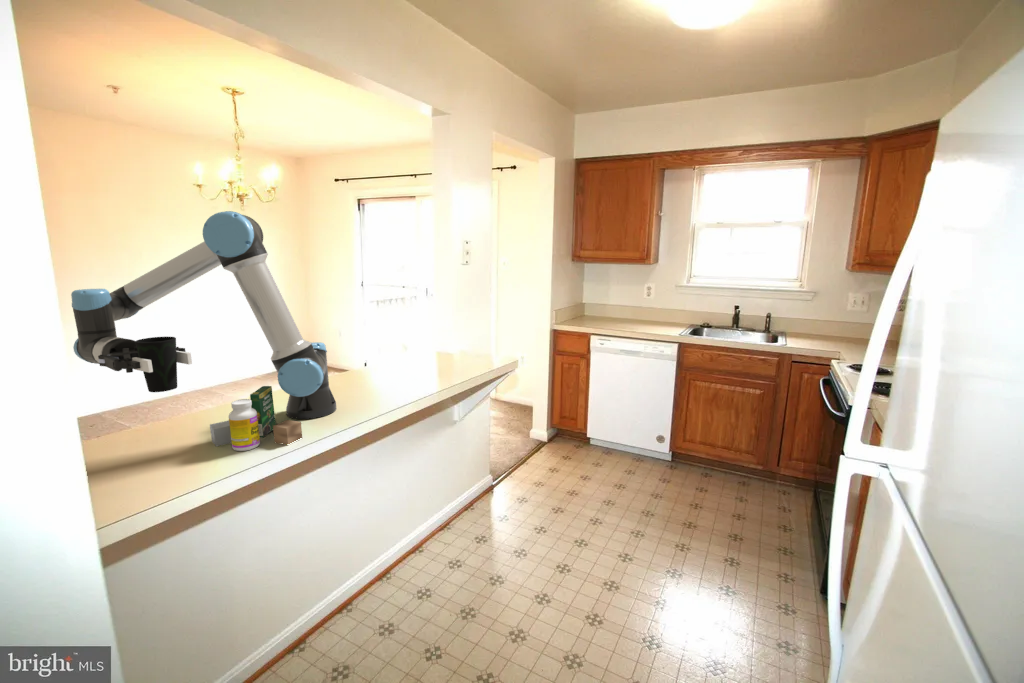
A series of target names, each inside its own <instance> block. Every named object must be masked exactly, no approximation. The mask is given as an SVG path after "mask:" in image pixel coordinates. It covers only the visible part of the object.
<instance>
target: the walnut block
mask: <svg viewBox="0 0 1024 683" xmlns="http://www.w3.org/2000/svg"><path fill="white" fill-rule="evenodd" d="M272 431H273V440H274V443H275V442H276V443H275V444H279V443H283V444H282V445H284V444H290V443H292V442H294V441H296V440H298V439H300V438H302V439H303V431H302V421H297V420H290V419H286V420H284V421H281V422H279V423H276V425H274V426H273V430H272ZM298 441H299V440H298ZM296 442H297V441H296ZM294 443H295V442H294ZM292 444H293V443H292ZM290 445H291V444H290Z"/></svg>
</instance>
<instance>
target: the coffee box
mask: <svg viewBox="0 0 1024 683" xmlns="http://www.w3.org/2000/svg"><path fill="white" fill-rule="evenodd" d="M249 399H250V400H251V401H252V406H251V408H253V409H255V410H256V411H257V418H258V427H259V436H260V438H265V437H266V436H267V435H268V434H269V433H271V432H272V431H273V426H274V425H276V424H277V423H276V416H275V415H276V413H275V407H274V398H273V388H272V385H262V386H261V387H259V388H258V389H256V390H255V391H254V392H252V393H250V394H249Z"/></svg>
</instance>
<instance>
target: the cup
mask: <svg viewBox="0 0 1024 683" xmlns="http://www.w3.org/2000/svg"><path fill="white" fill-rule="evenodd" d="M134 341H135V344H136V348H137V351H138V355H139V358H143V359H148V360H151V362H152V368H153V372H150V373H149V372H144V371H142V372H143V376H144V379H145V384H146V386H147V390H148V392H150V393H162V392H163V393H164V392H169V391H172V390H175V389H177V388H178V368H177V366H178V365H177V364H178V362H177V358H176V347H177V337H175V336H154V337H146V338H142V339H137V340H134Z"/></svg>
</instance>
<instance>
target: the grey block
mask: <svg viewBox="0 0 1024 683" xmlns="http://www.w3.org/2000/svg"><path fill="white" fill-rule="evenodd" d="M209 430H210V438H211V442H212V444H213V445H214V444H215V445H214V446H215V447H219V446H220V445H221V446H224V445H229V444H232V441H231V433H230V424H229V419H228V420H224V421H220V422H216V423H215V422H214V423H210V424H209Z"/></svg>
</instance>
